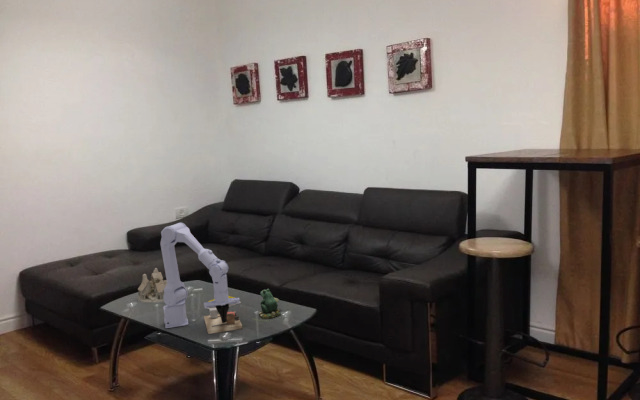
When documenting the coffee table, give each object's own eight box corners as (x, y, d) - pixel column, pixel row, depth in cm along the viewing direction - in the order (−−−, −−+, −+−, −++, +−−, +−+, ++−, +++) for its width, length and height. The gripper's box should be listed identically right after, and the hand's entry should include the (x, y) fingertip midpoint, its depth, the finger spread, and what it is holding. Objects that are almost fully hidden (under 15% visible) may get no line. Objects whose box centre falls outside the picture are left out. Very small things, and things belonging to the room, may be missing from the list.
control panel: (208, 334, 223) (207, 327, 223) (204, 319, 240) (203, 313, 240) (242, 328, 227) (241, 321, 227) (235, 314, 244) (235, 308, 244)
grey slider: (210, 318, 236) (210, 310, 235) (210, 316, 239) (209, 308, 238) (217, 317, 237) (217, 309, 236) (216, 315, 240) (216, 307, 239)
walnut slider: (227, 324, 228) (226, 316, 227) (226, 322, 231) (226, 314, 230) (234, 323, 229) (234, 315, 228) (233, 320, 231) (233, 313, 231)
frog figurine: (275, 305, 255) (273, 281, 253) (298, 313, 241) (297, 288, 239) (242, 315, 244) (240, 290, 242) (265, 325, 230) (263, 298, 228)
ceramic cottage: (135, 297, 277) (133, 269, 275) (168, 292, 285) (166, 265, 282) (141, 308, 264) (139, 278, 261) (175, 302, 272) (174, 273, 269)
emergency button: (203, 299, 256) (229, 291, 266) (204, 308, 256) (230, 299, 267) (215, 303, 249) (241, 294, 260) (216, 312, 250) (242, 303, 261)
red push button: (226, 320, 232) (225, 315, 232) (225, 317, 236) (224, 312, 236) (235, 318, 234) (235, 314, 233) (234, 315, 237) (233, 311, 237)
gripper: (204, 296, 221) (207, 328, 223) (239, 290, 225) (242, 322, 227) (202, 291, 227) (205, 322, 229) (237, 286, 232) (239, 316, 234)
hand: (223, 321), depth 229 cm, fingers closed
